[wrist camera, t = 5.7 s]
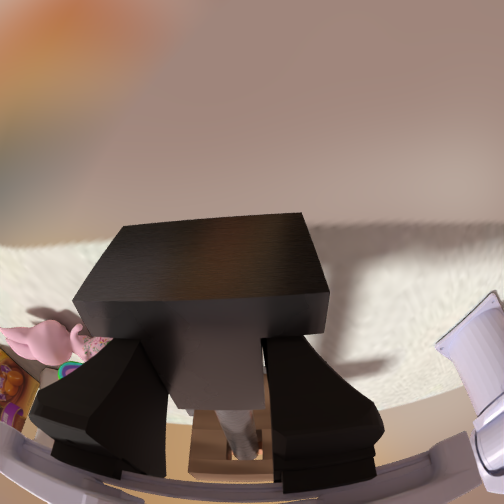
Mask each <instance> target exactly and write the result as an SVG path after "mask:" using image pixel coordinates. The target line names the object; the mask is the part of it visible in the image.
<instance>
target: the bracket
mask: <svg viewBox="0 0 504 504" xmlns="http://www.w3.org/2000/svg"><path fill="white" fill-rule="evenodd" d="M264 389H265V409H261V410H253V416H254V422H255V428H256V434H257V440H258V442H262V451H263V460H232V449H231V447H230V445H229V443H228V441H227V438H226V436H225V434H224V432H223V429H222V427H221V425H220V422H219V420H218V418H217V415H216V413H215V410H194V417H193V426H192V435H191V445H190V455H189V466H188V473H189V474H191V475H192V476H193V477H194V478H196V479H197V480H207V481H229V482H255V481H256V482H257V481H273V458H272V436H271V416H270V396H269V387H268V380H267V374H264Z"/></svg>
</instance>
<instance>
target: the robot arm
mask: <svg viewBox="0 0 504 504" xmlns="http://www.w3.org/2000/svg"><path fill="white" fill-rule="evenodd" d="M262 347H263V354H264V361H265V367H266V374H267V380H268V387H269V396H270V416H271V436H272V458H273V481H274V483H264V484H220V483H203V482H191V481H181V480H173V479H166V478H164V477H166V456H165V455H166V454H165V439H166V437H165V436H166V417H167V405H168V395H169V393H168V391H167V389H166V387H165V386H164V384H163V382H162V380H161V379H160V377H159V375H158V373H157V371H156V370H155V368H154V366H153V364H152V362H151V360H150V358H149V357H148V355H147V353H146V351H145V349H144V347H143V345H142V343H141V341H140V339H124V338H113V339H112V340H111V341H110V342H109V343H108V344H107V345H106V346H105V347H103V348H102V349H101V350H100V351H99V352H98V353H97V354H95V355H94V356H93V357H91V358H90V359H89V360H88V361H86V362H85V363H84V364H82V365H81V366H80V367H78V368H77V369H75V370H74V371H72V372H71V373H69V374H68V375H66V376H65V377H63V378H61V379H60V380H58V381H56V382H54V383H52V384H50V385H48V386H46V387H44V388H42V389H40V390H39V391H38V393H37V395H36V398H35V400H34V403H33V405H32V408H31V410H30V413H29V418H30V420H31V421H32V423H34V424H35V425H36V426H37V427H38V428H39V429H40V430H42V431H43V432H44V433H45V434H47V435H48V436H49V437H51V438H52V439H53V440H55V441H54V444H53V448H49V447H47V446H45V445H42V444H40V443H37V442H35V441H33V440H31V439H28V438H26V437H25V436H24V435H23V434H22V433H20V432H19V431H18V430H16V429H15V428H13V427H11V426H9V425H7V424H5V423H4V422H2V421H0V473H2V474H3V475H5V476H6V477H7V478H9V479H11V480H12V481H13V482H15V483H16V484H18V485H19V486H21V487H22V488H24V489H25V490H27V491H28V492H30V493H32V494H33V495H35V496H37V497H38V498H40V499H42V500H44V501H45V502H47V503H49V504H144V502H145V501H144V500H143V499H141V498H138V497H135V496H132V495H130V494H127V493H125V492H123V491H122V490H120V489H116V488H113V487H110V486H107V485H104V484H103V482H104V483H108V484H111V485H115V486H118V487H122V488H126V489H131V490H135V491H140V492H145V493H150V494H155V495H161V496H167V497H173V498H181V499H190V500H201V501H213V502H241V503H243V502H245V503H247V502H249V503H250V502H277V501H291V500H300V501H294V502H288V503H281V504H447V503H449V502H451V501H453V500H455V499H457V498H458V497H460V496H462V495H464V494H466V493H468V492H469V491H471V490H473V489H475V488H476V487H478V486H480V485H481V484H482V480H481V477H482V479H483V482H484V484H485V487H486V490H487V491H488V492H492V493H499V494H504V312H503V310H502V307H501V305H500V303H499V301H498V299H497V297H496V295H495V294H494V293H491V294H490V295H489V296H488V297H487V298H486V299H485V300H484V301H483V302H482V303H481V304H480V305H479V306H478V307H477V308H476V309H475V310H474V311H473V312H472V313H471V314H470V315H468V316H467V317H466V318H465V319H464V320H463V321H462V322H461V323H460V324H459V325H458V326H456V327H455V328H454V329H453V330H452V331H451V332H450V333H448V334H447V335H446V336H445V337H444V338H443V339H441V340H440V341H439V342H438V343H437V344H436V345H435V349H436V350H437V351H438V352H440V353H441V354H442V355H444V356H445V357H447V358H448V359H449V360H451V361H452V362H453V363H454V365H455V367H456V369H457V371H458V373H459V376H460V378H461V380H462V382H463V384H464V386H465V389H466V391H467V393H468V395H469V398H470V400H471V402H472V405H473V407H474V409H475V412H476V414H477V417H478V418H477V419H476V420H474V421H473V424H474V427H475V428H474V429H473V431H472V433H471V437H470V440H469V438H468V435H467V432H466V431H463V432H461V433H459V434H457V435H454V436H452V437H450V438H447V439H445V440H443V441H441V442H439V443H437V444H435V445H434V446H433V447H431V448H430V449H429V451H426V452H423V453H420V454H418V455H415V456H412V457H409V458H406V459H403V460H399V461H396V462H393V463H389V464H386V465H382V466H378V467H375V463H374V458H373V457H374V456H375V454H376V453H375V449H374V444H375V443H376V442H377V441H378V440H379V439H380V438H381V436H382V435H383V433H384V431H385V430H384V425H383V421H382V419H381V416H380V414H379V412H378V410H377V408H376V406H375V404H374V402H372V401H371V400H370V399H368V398H367V397H365V396H364V395H363V394H361V393H360V392H359V391H357V390H356V389H355V388H353V387H352V386H351V385H350V384H349V383H347V382H346V381H345V380H344V379H343V378H342V377H341V376H340V375H338V374H337V373H336V372H335V371H334V370H333V369H332V368H331V367H330V366H329V365H328V364H327V363H326V362H325V361H324V360H323V359H322V358H321V356H320V355H319V354H318V353H317V352H316V351H315V350H314V348H313V347H312V346H311V345H310V344H309V342H308V341H307V340H306V338H305V337H304V336H303V335H298V336H286V337H271V338H262ZM480 475H481V476H480ZM316 497H318V498H317V499H309V498H316ZM301 499H306V500H301Z"/></svg>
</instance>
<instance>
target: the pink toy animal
mask: <svg viewBox="0 0 504 504" xmlns="http://www.w3.org/2000/svg"><path fill="white" fill-rule="evenodd" d="M82 328H83V326H82V325H81V324H77V325H76V326H75V327H74V328H73V329H72V331H71V333H70V332H68V331H67V330H66V327H65V326H64V325H61V324H60V323H59V322H57V321H55V320H46V321H44V322H41V323H39V324H37V325H36V326H34V327H31V328H27V327H14V328H1V327H0V331H1V332H2V333H3V334H4V335H5V336H6V337H7V338H6V341H7V343H8V344H9V346H10V347H11V348H12V349H13V351H14V352H15V353H17V354H18V355H19V356H21V357H23V358H26V359H30V360H38V361H39V362H41V363H43V364H45V365H50V366H56V365H61V364H62V365H61V366H60V368H59V370H58V378H59V380H60V379H61V378H63V377H65V376H66V375H68V374H69V373H71V372H72V371H74V370H75V369H77V368H78V367H80V366H81V365H82V364H84V363H79V362H74V361H68V360H69V359H70V357H71V355H72V352H73V353H75V354H77V355H78V356H79V357H80V358H81V359H82V360H83V361H84V362H86V361H88V360H89V359H90V358H91V357H93V356H94V355H95V354H97V353H98V352H99V351H100V350H101V349H102V348H103V347H105V346H106V345H107V344H108V343H109V342H110V341H111V340H112V339H113V338H107V337H93V338H91V337H89V336H86V335H78V332H79V331H81V330H82ZM8 338H9V339H8ZM67 361H68V362H67Z"/></svg>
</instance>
